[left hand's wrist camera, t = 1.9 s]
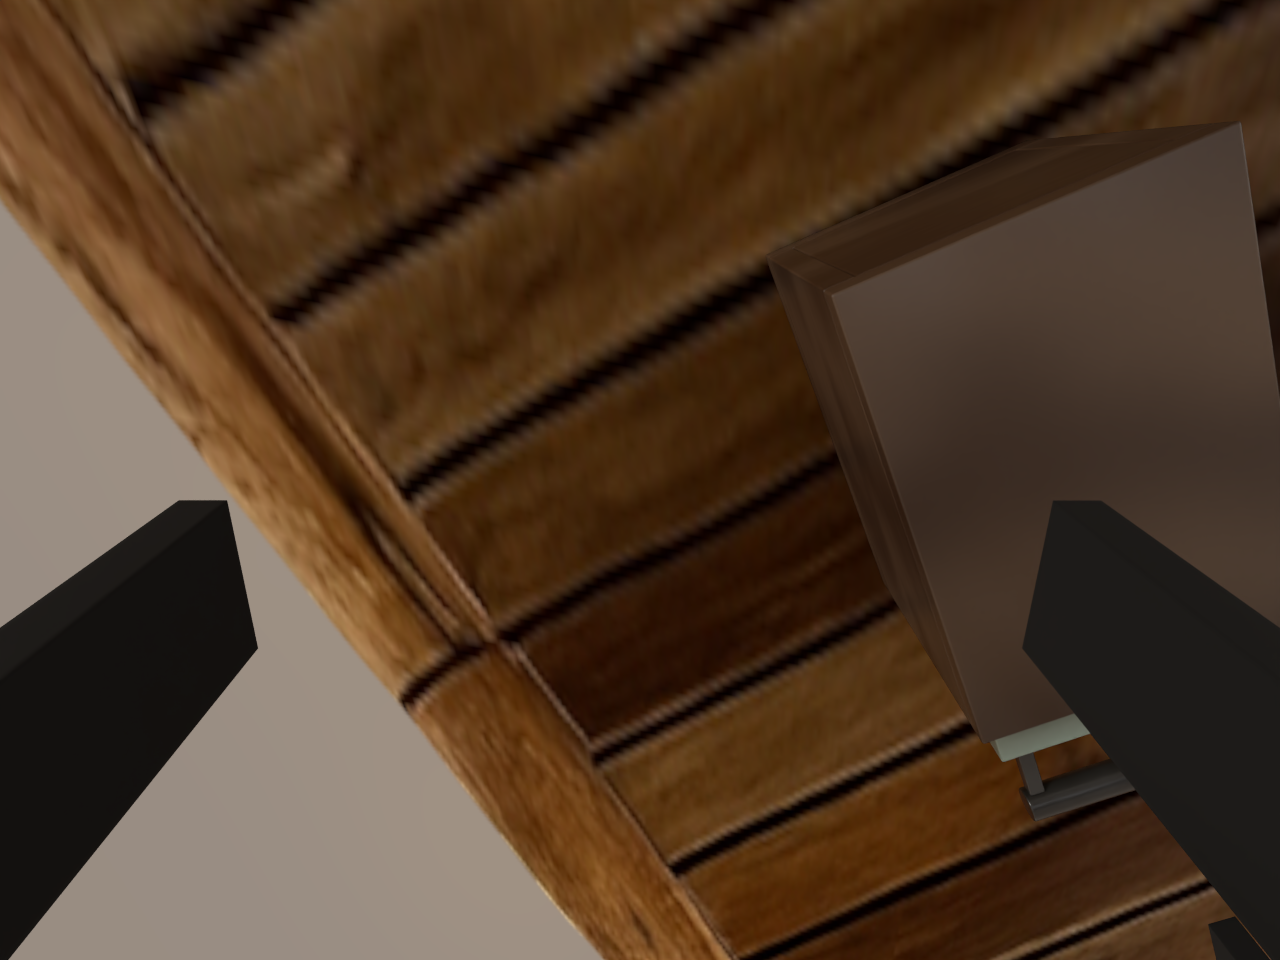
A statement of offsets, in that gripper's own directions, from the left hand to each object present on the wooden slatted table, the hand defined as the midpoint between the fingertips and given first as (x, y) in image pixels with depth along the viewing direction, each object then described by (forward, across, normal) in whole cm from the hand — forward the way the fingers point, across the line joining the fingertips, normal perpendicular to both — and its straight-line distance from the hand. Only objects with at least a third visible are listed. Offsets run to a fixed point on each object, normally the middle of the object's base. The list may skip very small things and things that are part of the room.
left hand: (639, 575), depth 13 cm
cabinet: (+21, +13, -2) cm, 25 cm away
